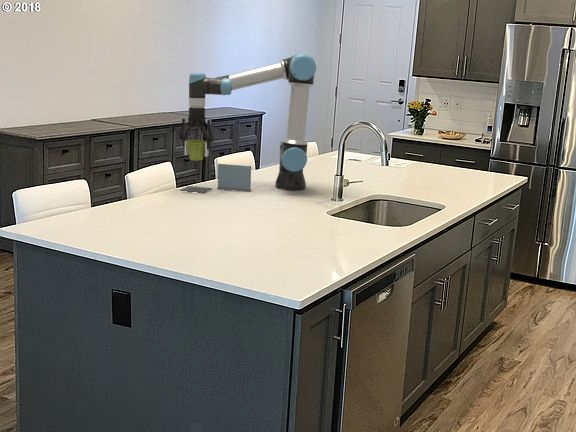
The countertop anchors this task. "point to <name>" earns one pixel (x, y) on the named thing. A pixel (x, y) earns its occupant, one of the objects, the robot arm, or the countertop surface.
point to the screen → (234, 177)
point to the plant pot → (196, 149)
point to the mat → (196, 189)
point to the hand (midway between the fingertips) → (196, 155)
